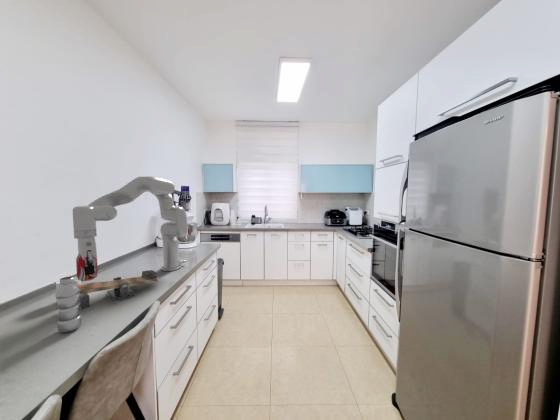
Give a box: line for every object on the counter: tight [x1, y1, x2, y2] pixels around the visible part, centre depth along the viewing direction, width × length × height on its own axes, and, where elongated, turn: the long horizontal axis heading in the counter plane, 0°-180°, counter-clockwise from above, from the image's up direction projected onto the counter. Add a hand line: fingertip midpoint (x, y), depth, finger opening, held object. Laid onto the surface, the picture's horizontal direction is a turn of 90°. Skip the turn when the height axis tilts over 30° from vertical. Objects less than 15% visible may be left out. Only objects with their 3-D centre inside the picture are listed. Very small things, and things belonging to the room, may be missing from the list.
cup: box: [55, 276, 82, 295], centre depth 104 cm, size 8×12×10 cm
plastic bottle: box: [54, 275, 83, 334], centre depth 80 cm, size 6×7×20 cm
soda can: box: [75, 253, 99, 282], centre depth 98 cm, size 7×7×12 cm
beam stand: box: [78, 276, 136, 310], centre depth 104 cm, size 20×13×8 cm, turn 142°
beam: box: [77, 269, 159, 294], centre depth 108 cm, size 32×8×4 cm, turn 142°
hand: (87, 272), depth 98 cm, fingers closed on soda can, 6 cm apart
